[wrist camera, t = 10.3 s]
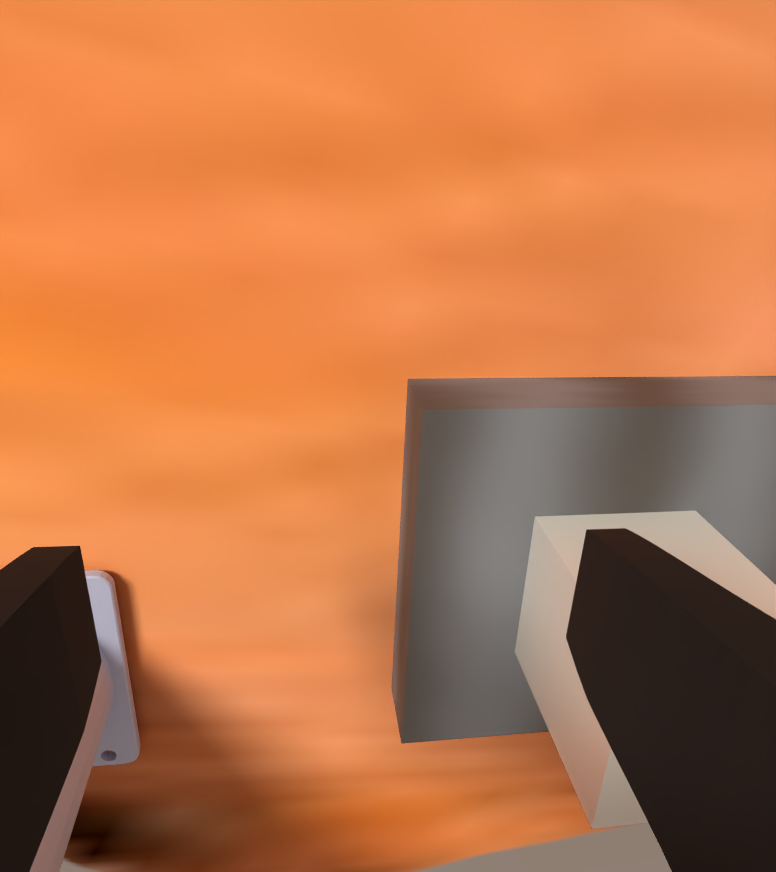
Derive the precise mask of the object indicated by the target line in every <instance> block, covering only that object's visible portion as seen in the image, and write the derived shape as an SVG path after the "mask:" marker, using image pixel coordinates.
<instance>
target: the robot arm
mask: <svg viewBox="0 0 776 872" xmlns="http://www.w3.org/2000/svg"><path fill="white" fill-rule="evenodd" d="M566 639H567V642H568V645H569V648H570V652H571V655H572V658H573V661H574V664H575V667H576V670H577V673H578V675H579V678H580V681H581V684H582V686H583V689H584V692H585V695H586V697H587V700H588V702H589V704H590V706H591V708H592V710H593V713H594V715H595V717H596V719H597V721H598V723H599V725H600V727H601V729H602V731H603V733H604V735H605V737H606V739H607V741H608V743H609V745H610V747H611V749H612V751H613V753H614V755H615V757H616V759H617V761H618V763H619V765H620V767H621V769H622V771H623V773H624V775H625V777H626V779H627V781H628V783H629V785H630V787H631V789H632V791H633V793H634V795H635V797H636V799H637V801H638V803H639V805H640V807H641V809H642V811H643V813H644V815H645V817H646V819H647V821H648V823H649V825H650V827H651V829H652V831H653V833H654V835H655V837H656V838H657V841H658V843H659V845H660V846H661V849H662V851H663V853H664V855H665V857H666V860H667V861H668V864H669V866H670V868H671V870H672V872H776V619H775V618H773V617H771V616H770V615H768V614H766V613H765V612H763V611H761V610H760V609H758V608H756V607H755V606H753V605H751V604H750V603H748V602H747V601H745V600H743V599H742V598H740V597H738V596H737V595H735V594H734V593H732V592H730V591H729V590H727V589H725V588H724V587H722V586H721V585H719V584H717V583H716V582H714V581H713V580H711V579H710V578H708V577H706V576H705V575H703V574H702V573H700V572H698V571H697V570H695V569H694V568H692V567H690V566H689V565H687V564H686V563H684V562H682V561H681V560H679V559H678V558H676V557H675V556H673V555H671V554H670V553H668V552H666V551H665V550H663V549H662V548H660V547H658V546H657V545H655V544H653V543H652V542H650V541H648V540H646V539H645V538H643V537H641V536H639V535H638V534H636V533H634V532H632V531H630V530H628V529H626V528H617V529H586V534H585V539H584V544H583V550H582V555H581V560H580V565H579V571H578V576H577V581H576V586H575V591H574V597H573V602H572V607H571V612H570V618H569V623H568V628H567V633H566ZM140 747H141V744H140V738H139V731H138V725H137V719H136V713H135V706H134V700H133V694H132V688H131V681H130V675H129V669H128V663H127V656H126V650H125V644H124V638H123V631H122V625H121V619H120V613H119V606H118V600H117V594H116V588H115V582H114V580H113V578H112V577H111V576H110V575H109V574H108V573H106V572H104V571H100V570H86V571H85V570H84V565H83V560H82V554H81V549H80V546H60V547H33V548H31V549H30V550H28V551H27V552H25V553H24V554H22V555H21V556H19V557H18V558H16V559H15V560H13V561H12V562H11V563H9V564H8V565H7V566H5V567H4V568H2V569H1V570H0V872H59V871H60V868H61V864H62V861H63V858H64V855H65V852H66V849H67V845H68V842H69V839H70V836H71V833H72V830H73V826H74V823H75V820H76V817H77V814H78V811H79V807H80V804H81V801H82V798H83V795H84V792H85V788H86V785H87V782H88V779H89V776H90V773H91V769H92V767H93V766H105V765H117V764H127V763H131V762H133V761H135V760H136V759H137V758H138V756H139V752H140ZM107 750H110V751H113V752H109V751H107Z"/></svg>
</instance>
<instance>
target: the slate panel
mask: <svg viewBox="0 0 776 872" xmlns="http://www.w3.org/2000/svg"><path fill="white" fill-rule="evenodd" d="M672 511H697V512H698V513H699V514H700V515H701V516H702V517H703V518H704V519H705V520H706V521H707V522H708V523H709V524H711V525H712V526H713V527H714V528H715V529H716V530H717V531H718V532H719V533H720V534H721V535H722V536H723V537H725V538H726V539H727V540H728V541H729V542H730V543H731V544H732V545H733V546H734V547H735V548H736V549H738V550H739V551H740V552H741V553H742V554H743V555H744V556H745V557H746V558H747V559H748V560H749V561H750V562H752V563H753V564H754V565H755V566H756V567H757V568H758V569H759V570H760V571H761V572H762V573H763V574H764V575H766V576H767V577H768V578H769V579H770V580H771V581H772V582H773V583H774V584H775V585H776V376H723V377H592V378H460V379H408V387H407V406H406V425H405V444H404V463H403V482H402V502H401V521H400V540H399V559H398V578H397V597H396V616H395V635H394V654H393V673H392V693H393V698H394V704H395V710H396V715H397V721H398V726H399V732H400V737H401V743H413V742H425V741H437V740H449V739H462V738H474V737H486V736H498V735H511V734H523V733H535V732H547V731H549V730H548V728H547V725H546V723H545V721H544V718H543V716H542V714H541V712H540V709H539V707H538V705H537V702H536V700H535V698H534V695H533V693H532V691H531V688H530V686H529V684H528V682H527V679H526V677H525V675H524V672H523V670H522V668H521V665H520V663H519V661H518V659H517V656H516V654H515V646H516V640H517V633H518V626H519V619H520V613H521V606H522V599H523V593H524V586H525V579H526V572H527V566H528V559H529V552H530V546H531V539H532V532H533V525H534V519H535V517H536V516H563V515H590V514H617V513H645V512H672Z"/></svg>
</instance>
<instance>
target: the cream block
mask: <svg viewBox="0 0 776 872" xmlns="http://www.w3.org/2000/svg"><path fill="white" fill-rule="evenodd" d="M617 528H626V529H628V530H630V531H632V532H634V533H636V534H638V535H639V536H641V537H643V538H645V539H646V540H648V541H650V542H652V543H653V544H655V545H657V546H658V547H660V548H662V549H663V550H665V551H666V552H668V553H670V554H671V555H673V556H675V557H676V558H678V559H679V560H681V561H682V562H684V563H686V564H687V565H689V566H690V567H692V568H694V569H695V570H697V571H698V572H700V573H702V574H703V575H705V576H706V577H708V578H710V579H711V580H713V581H714V582H716V583H717V584H719V585H721V586H722V587H724V588H725V589H727V590H729V591H730V592H732V593H734V594H735V595H737V596H738V597H740V598H742V599H743V600H745V601H747V602H748V603H750V604H751V605H753V606H755V607H756V608H758V609H760V610H761V611H763V612H765V613H766V614H768V615H770V616H771V617H773V618H775V619H776V585H775V584H774V583H773V582H772V581H771V580H770V579H769V578H768V577H767V576H766V575H764V574H763V573H762V572H761V571H760V570H759V569H758V568H757V567H756V566H755V565H754V564H753V563H752V562H750V561H749V560H748V559H747V558H746V557H745V556H744V555H743V554H742V553H741V552H740V551H739V550H738V549H736V548H735V547H734V546H733V545H732V544H731V543H730V542H729V541H728V540H727V539H726V538H725V537H723V536H722V535H721V534H720V533H719V532H718V531H717V530H716V529H715V528H714V527H713V526H712V525H711V524H709V523H708V522H707V521H706V520H705V519H704V518H703V517H702V516H701V515H700V514H699V513H698V512H697V511H672V512H645V513H617V514H590V515H563V516H536V517H535V519H534V525H533V532H532V539H531V546H530V552H529V559H528V566H527V572H526V579H525V586H524V593H523V599H522V606H521V613H520V619H519V626H518V633H517V640H516V646H515V654H516V656H517V659H518V661H519V663H520V665H521V668H522V670H523V672H524V675H525V677H526V679H527V682H528V684H529V686H530V688H531V691H532V693H533V695H534V698H535V700H536V702H537V705H538V707H539V709H540V712H541V714H542V716H543V718H544V721H545V723H546V725H547V728H548V730H549V732H550V735H551V737H552V739H553V741H554V744H555V746H556V748H557V751H558V753H559V755H560V758H561V760H562V762H563V764H564V767H565V769H566V771H567V774H568V776H569V778H570V781H571V783H572V785H573V787H574V790H575V792H576V794H577V797H578V799H579V801H580V804H581V806H582V808H583V811H584V813H585V815H586V817H587V820H588V822H589V824H590V827H591V829H595V828H604V827H614V826H623V825H633V824H642V823H648V821H647V819H646V817H645V815H644V813H643V811H642V809H641V807H640V805H639V803H638V801H637V799H636V797H635V795H634V793H633V791H632V789H631V787H630V785H629V783H628V781H627V779H626V777H625V775H624V773H623V771H622V769H621V767H620V765H619V763H618V761H617V759H616V757H615V755H614V753H613V751H612V749H611V747H610V745H609V743H608V741H607V739H606V737H605V735H604V733H603V731H602V729H601V727H600V725H599V723H598V721H597V719H596V717H595V715H594V713H593V710H592V708H591V706H590V704H589V702H588V700H587V697H586V695H585V692H584V689H583V686H582V684H581V681H580V678H579V675H578V673H577V670H576V667H575V664H574V661H573V658H572V655H571V652H570V648H569V645H568V642H567V639H566V633H567V628H568V623H569V618H570V612H571V607H572V602H573V597H574V591H575V586H576V581H577V576H578V571H579V565H580V560H581V555H582V550H583V544H584V539H585V534H586V529H617Z"/></svg>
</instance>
